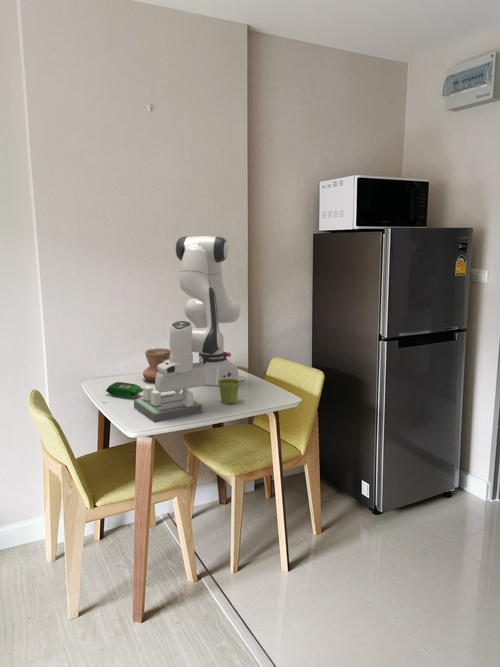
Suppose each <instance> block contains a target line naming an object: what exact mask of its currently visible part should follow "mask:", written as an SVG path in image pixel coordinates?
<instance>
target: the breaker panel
mask: <svg viewBox="0 0 500 667" xmlns="http://www.w3.org/2000/svg"><path fill="white" fill-rule="evenodd" d="M179 393H180V395H181V394H182V392H179ZM133 408H134V409H135V410H137V411H138V412H140V414H142V415H144V416H145V417H147V419H149V420H151V421H152V422H153V423H158V422H162V421H163V422H164V421H167V420H172V419H176V418H182V417H187V416H188V417H189V416H191V415H196V414H202V413H203V405H202V404H200V403H199V402H197V401H195V400H194V399H193V406H189V407H187V406H185V405H183V400H180V401H179V400H178V395H177V394H176V393H175V392H173V393H168V394H161V405H159V406H154V405H152V404H151V401H146V400H145V399H143V398H139V399H134V400H133Z"/></svg>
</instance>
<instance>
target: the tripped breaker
mask: <svg viewBox="0 0 500 667" xmlns="http://www.w3.org/2000/svg"><path fill="white" fill-rule="evenodd" d="M193 400H194V393H193V392H191V391H189V390H188V391H187V393H186V395H185V400H183V405H185V406H187V407H189V406H193Z"/></svg>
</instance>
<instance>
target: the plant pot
mask: <svg viewBox="0 0 500 667" xmlns="http://www.w3.org/2000/svg"><path fill="white" fill-rule="evenodd" d="M241 383H242V381H239V380H236V379H221V380H219V381H218V384H219V386H218V387H219V393H220V399H221V400H220V401H221V403H223V404H226V405H231V404H236V403H237V399H238V393H239V387H240V385H241Z"/></svg>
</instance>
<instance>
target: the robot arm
mask: <svg viewBox="0 0 500 667" xmlns="http://www.w3.org/2000/svg"><path fill="white" fill-rule="evenodd" d="M228 254H229V245H228V242H227V240H226V238H224V237H221V236H211V235H210V236H209V235H201V236H200V235H196V236H194V235H193V236H181V237H179V239H177V241H176V244H175V255H176V258H177V259H178V260H179V261H181V263H180V268H179V279H178V280H179V287H180V289H181V291H182V292H184V294H185V295H187V296H189V297H191V298H189V299H188V300H187V301H186V303H185V304H184V309H183V310H184V315H185V316H186V317H185V318H187V319H188V320H189V321H185V320H178V321H175V322H173V323H172V324H171V325H170V331H169V349H170V350H171V352H170V359H169V360H167V361H165V362H163V363H161V364H159V365H158V366H157V369H158V370H159V371H158V372H157V374H156V379H155V382H154V389H155V390H157V391H158V392H160V393H161V394H162V393H167V392H173V391H174V393H176V394H177V395H178V400H179V401H180V400H185V395H186V393H187V391H189V389H191V388H197V387H204V386H215V387H219V384H218V381H219V380H221V379H236V380H239V381H240V382H243V381H244V377H243V376H242V375H241V374H239V373H240V372H239V369H238V367H237V365H236V364H234V363H233V362H231V360H229V359H228V358H230V357H232V354H231V352H226V351H225V347H224V346H225V344H224V343H225V337H224V335H223V333H222V332H221V331H220V328H219V326H220V325H219V324H230V323H236V322H237V321H238V319H239V317H240V315H241V307H240V305H239V303H238V301H236V300H234V299H233V298H232V297H231V296H230V295H229V293H228V292H227V290H226V289H225V285H224V279H223V270H222V269H223V268H222V262H225V260H227V258H228ZM192 324H193V325H194V327H193V325H192ZM193 353H198V362H194V354H193ZM227 357H228V358H227ZM181 391H182V392H181ZM180 393H181V395H180Z"/></svg>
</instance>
